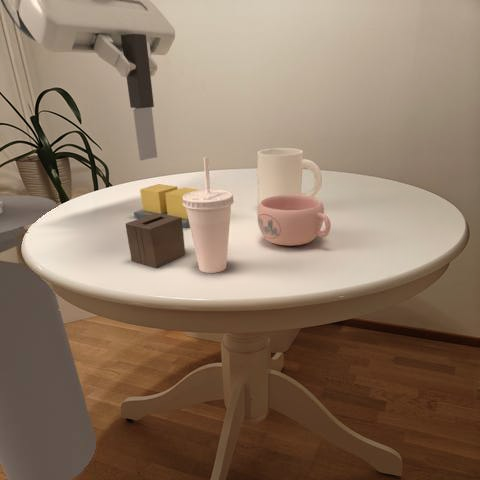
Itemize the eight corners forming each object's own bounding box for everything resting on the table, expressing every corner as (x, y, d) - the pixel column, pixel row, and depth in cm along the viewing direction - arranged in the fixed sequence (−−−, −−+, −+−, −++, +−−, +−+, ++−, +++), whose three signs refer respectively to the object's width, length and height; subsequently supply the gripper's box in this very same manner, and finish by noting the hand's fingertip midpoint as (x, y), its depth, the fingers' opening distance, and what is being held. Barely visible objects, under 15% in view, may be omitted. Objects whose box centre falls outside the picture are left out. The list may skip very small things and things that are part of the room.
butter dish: (134, 217, 79) (133, 212, 79) (164, 207, 85) (163, 202, 84) (186, 228, 73) (185, 222, 72) (214, 216, 78) (214, 211, 78)
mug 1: (322, 204, 83) (326, 148, 78) (317, 216, 76) (320, 155, 71) (263, 201, 86) (263, 147, 81) (253, 212, 79) (252, 154, 74)
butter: (142, 210, 79) (139, 189, 77) (161, 204, 83) (159, 183, 81) (187, 219, 74) (185, 196, 72) (205, 212, 77) (204, 190, 75)
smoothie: (237, 258, 60) (233, 153, 53) (234, 276, 54) (230, 162, 47) (192, 258, 60) (183, 154, 53) (185, 277, 54) (173, 163, 48)
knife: (135, 159, 58) (117, 34, 51) (151, 156, 60) (136, 35, 53) (146, 161, 57) (130, 33, 50) (162, 157, 59) (148, 34, 52)
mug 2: (244, 242, 65) (243, 204, 62) (283, 226, 72) (283, 191, 69) (309, 260, 58) (311, 218, 55) (345, 241, 64) (349, 202, 62)
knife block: (131, 261, 60) (124, 223, 57) (161, 248, 64) (156, 212, 61) (156, 268, 57) (150, 229, 55) (185, 254, 62) (181, 217, 59)
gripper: (130, 15, 63) (185, 89, 63) (-5, 0, 49) (65, 95, 49) (147, -27, 58) (206, 52, 58) (4, -58, 44) (80, 47, 44)
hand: (141, 72), depth 53 cm, fingers closed on knife, 2 cm apart
